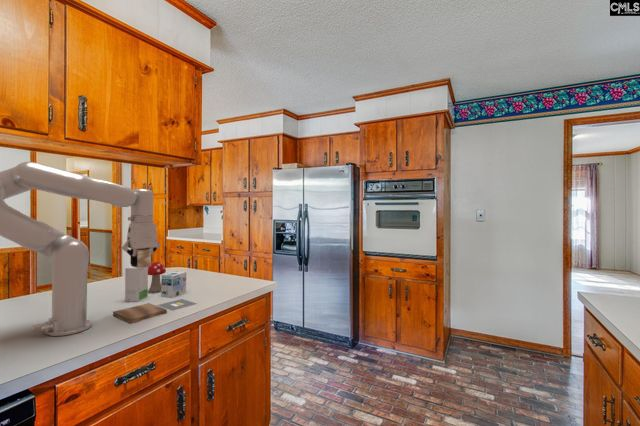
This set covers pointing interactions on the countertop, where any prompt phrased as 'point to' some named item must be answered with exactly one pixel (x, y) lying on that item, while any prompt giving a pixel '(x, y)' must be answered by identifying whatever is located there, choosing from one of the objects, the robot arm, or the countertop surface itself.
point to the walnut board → (139, 312)
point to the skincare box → (136, 284)
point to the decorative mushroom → (156, 276)
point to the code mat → (177, 304)
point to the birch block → (143, 258)
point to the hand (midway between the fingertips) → (141, 264)
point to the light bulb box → (173, 284)
